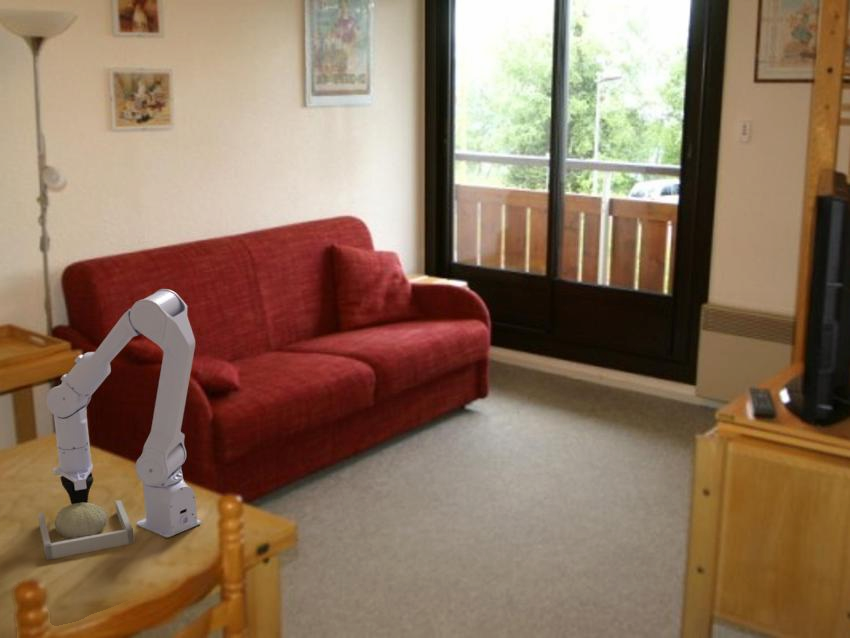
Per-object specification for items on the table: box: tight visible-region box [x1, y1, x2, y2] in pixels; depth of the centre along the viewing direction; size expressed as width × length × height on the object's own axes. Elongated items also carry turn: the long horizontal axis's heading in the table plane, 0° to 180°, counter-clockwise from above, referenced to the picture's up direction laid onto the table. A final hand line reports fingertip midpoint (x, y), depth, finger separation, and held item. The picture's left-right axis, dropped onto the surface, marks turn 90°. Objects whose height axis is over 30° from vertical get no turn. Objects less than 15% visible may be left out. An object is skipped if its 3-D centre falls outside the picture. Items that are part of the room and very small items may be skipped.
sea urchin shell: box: [53, 502, 109, 539], centre depth 195 cm, size 9×8×8 cm
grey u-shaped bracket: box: [37, 499, 135, 561], centre depth 193 cm, size 15×15×2 cm
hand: (80, 511), depth 200 cm, fingers closed
